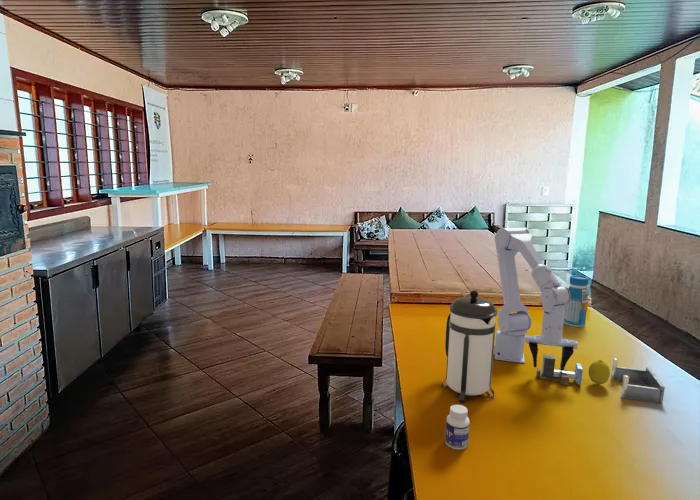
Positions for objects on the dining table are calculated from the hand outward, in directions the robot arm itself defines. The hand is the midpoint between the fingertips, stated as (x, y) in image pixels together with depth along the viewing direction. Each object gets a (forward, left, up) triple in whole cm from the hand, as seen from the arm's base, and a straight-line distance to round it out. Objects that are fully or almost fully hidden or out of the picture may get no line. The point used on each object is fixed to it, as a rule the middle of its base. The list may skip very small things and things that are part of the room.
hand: (548, 367), depth 145 cm
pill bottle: (-24, -44, -4) cm, 50 cm away
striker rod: (+4, 0, -3) cm, 5 cm away
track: (+2, 0, -3) cm, 4 cm away
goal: (+24, 0, -3) cm, 24 cm away
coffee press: (-24, -16, -4) cm, 29 cm away
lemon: (+14, 0, -4) cm, 14 cm away
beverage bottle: (+16, +58, -4) cm, 60 cm away
